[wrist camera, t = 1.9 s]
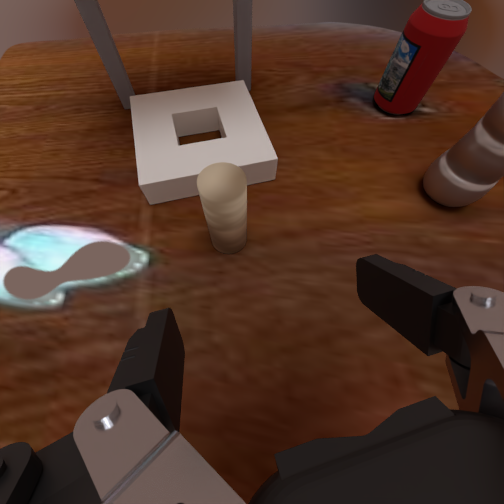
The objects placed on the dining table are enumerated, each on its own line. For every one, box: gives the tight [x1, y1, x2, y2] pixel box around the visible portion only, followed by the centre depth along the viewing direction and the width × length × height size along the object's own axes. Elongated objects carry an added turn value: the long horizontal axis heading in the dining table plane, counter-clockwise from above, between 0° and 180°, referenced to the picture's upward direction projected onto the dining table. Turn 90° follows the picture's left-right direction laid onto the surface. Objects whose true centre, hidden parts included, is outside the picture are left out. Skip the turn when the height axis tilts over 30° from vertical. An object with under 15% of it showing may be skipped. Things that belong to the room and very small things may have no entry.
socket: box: [130, 80, 278, 205], centre depth 33 cm, size 16×16×4 cm
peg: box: [197, 162, 247, 254], centre depth 24 cm, size 4×4×10 cm
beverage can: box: [374, 0, 471, 115], centre depth 34 cm, size 7×7×12 cm
